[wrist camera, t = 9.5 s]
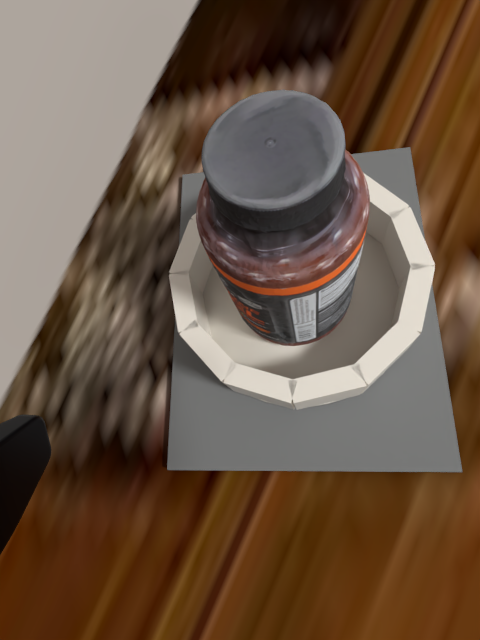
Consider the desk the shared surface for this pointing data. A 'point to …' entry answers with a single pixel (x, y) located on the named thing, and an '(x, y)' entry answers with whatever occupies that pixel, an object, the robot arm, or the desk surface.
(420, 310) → the bowl
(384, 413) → the mat
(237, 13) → the desk surface
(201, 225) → the supplement bottle
